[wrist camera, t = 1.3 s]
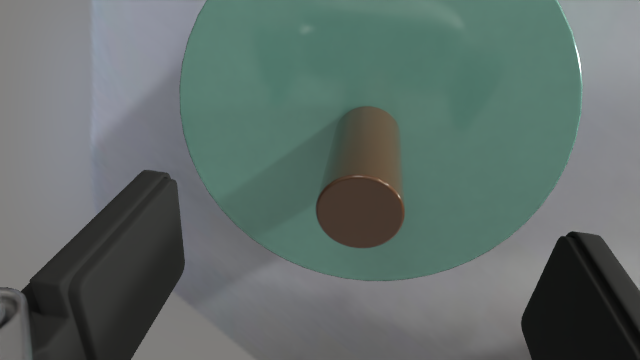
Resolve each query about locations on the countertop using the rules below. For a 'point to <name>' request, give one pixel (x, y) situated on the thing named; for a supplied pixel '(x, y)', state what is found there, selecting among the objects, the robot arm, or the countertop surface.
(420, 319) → the countertop surface
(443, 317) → the countertop surface
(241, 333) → the countertop surface
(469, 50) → the lid
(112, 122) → the countertop surface
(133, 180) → the robot arm
